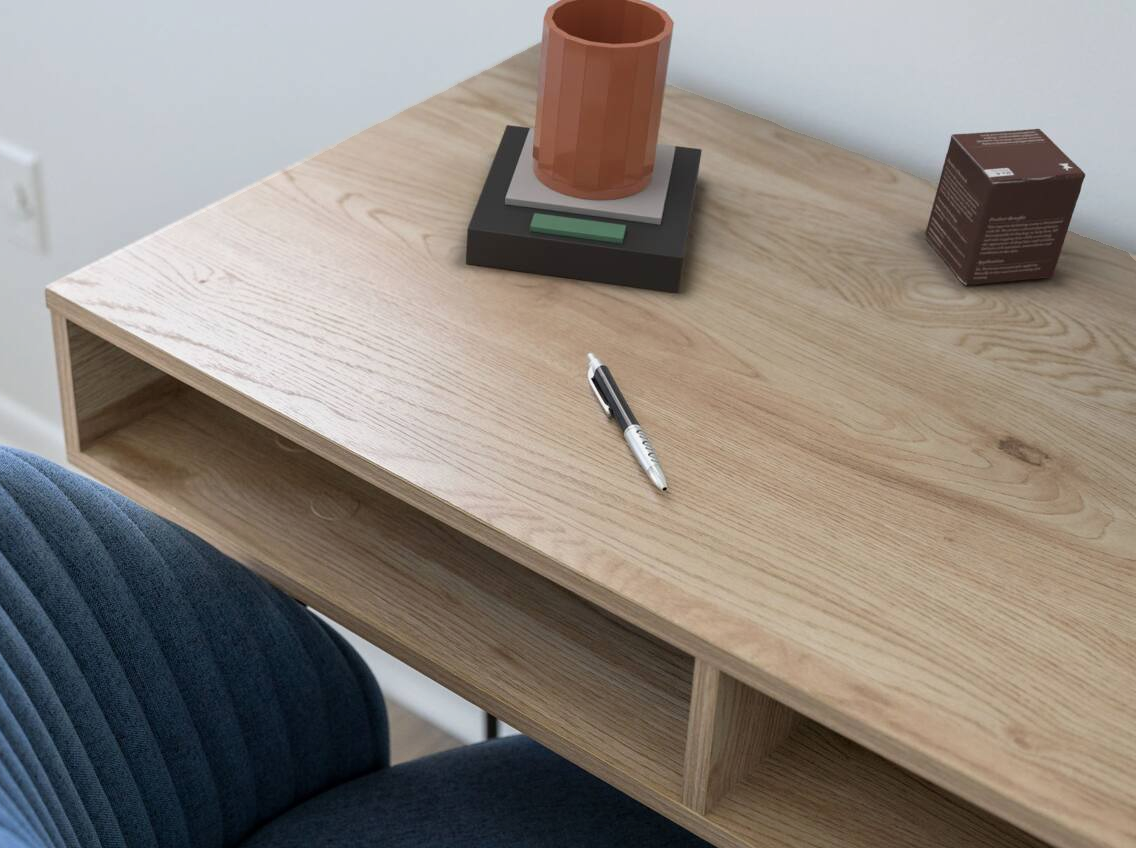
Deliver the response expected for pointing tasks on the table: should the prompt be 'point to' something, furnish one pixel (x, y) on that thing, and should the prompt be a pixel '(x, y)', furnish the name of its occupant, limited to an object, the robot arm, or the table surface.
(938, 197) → the box
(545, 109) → the cup
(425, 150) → the table surface
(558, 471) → the table surface
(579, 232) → the scale
